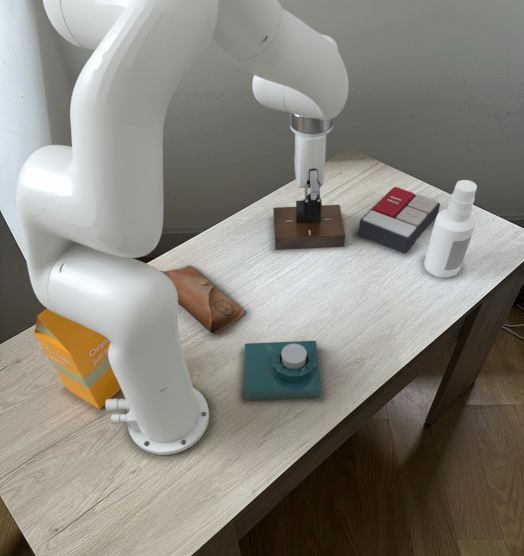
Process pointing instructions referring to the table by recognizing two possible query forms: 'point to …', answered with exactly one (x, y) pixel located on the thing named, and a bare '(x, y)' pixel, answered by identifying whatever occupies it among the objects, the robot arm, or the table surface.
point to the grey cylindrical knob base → (280, 372)
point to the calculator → (398, 219)
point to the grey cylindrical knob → (294, 356)
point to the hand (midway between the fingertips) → (309, 201)
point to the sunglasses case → (204, 299)
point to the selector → (308, 229)
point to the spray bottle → (452, 232)
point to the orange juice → (78, 357)
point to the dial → (300, 214)
